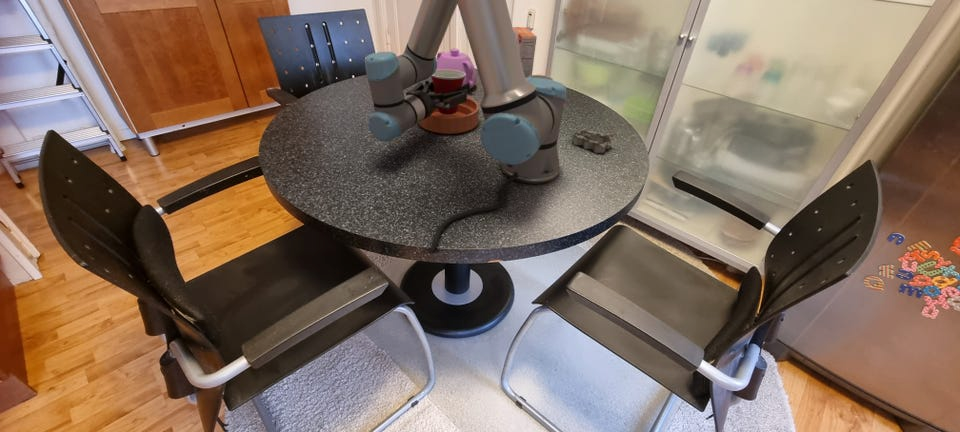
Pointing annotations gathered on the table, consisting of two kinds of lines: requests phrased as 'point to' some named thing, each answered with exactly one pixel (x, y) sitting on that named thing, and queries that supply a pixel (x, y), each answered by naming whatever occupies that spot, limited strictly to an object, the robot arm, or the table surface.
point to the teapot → (457, 64)
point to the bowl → (453, 119)
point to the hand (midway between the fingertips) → (455, 84)
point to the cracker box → (525, 48)
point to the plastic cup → (447, 84)
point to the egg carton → (592, 140)
